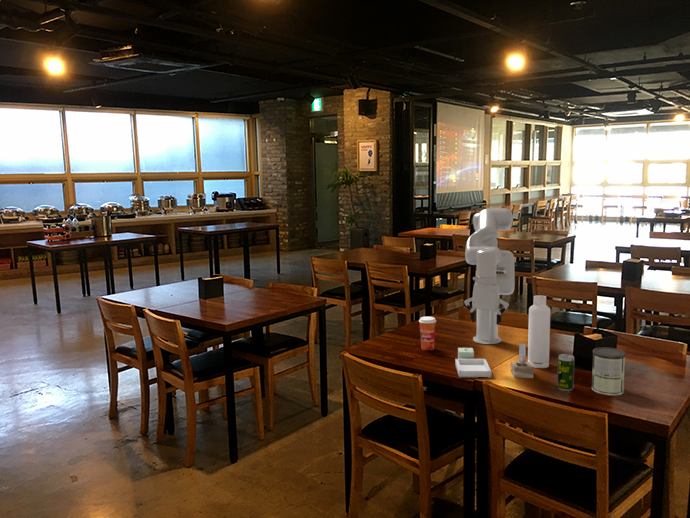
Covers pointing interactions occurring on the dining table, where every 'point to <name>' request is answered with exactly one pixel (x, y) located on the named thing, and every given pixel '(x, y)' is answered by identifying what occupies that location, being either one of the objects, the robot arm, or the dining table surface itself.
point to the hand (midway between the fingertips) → (485, 322)
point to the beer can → (565, 372)
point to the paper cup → (427, 332)
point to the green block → (465, 353)
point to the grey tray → (473, 368)
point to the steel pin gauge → (522, 354)
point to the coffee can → (608, 371)
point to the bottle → (539, 333)
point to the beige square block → (522, 370)
